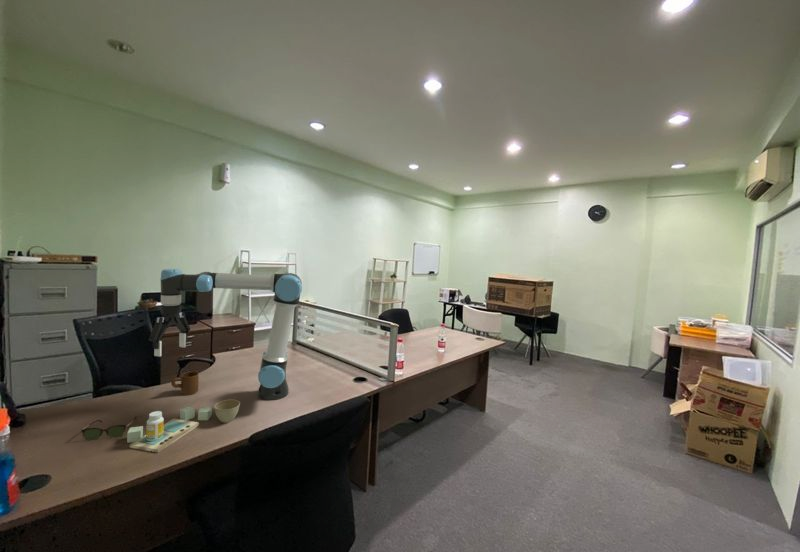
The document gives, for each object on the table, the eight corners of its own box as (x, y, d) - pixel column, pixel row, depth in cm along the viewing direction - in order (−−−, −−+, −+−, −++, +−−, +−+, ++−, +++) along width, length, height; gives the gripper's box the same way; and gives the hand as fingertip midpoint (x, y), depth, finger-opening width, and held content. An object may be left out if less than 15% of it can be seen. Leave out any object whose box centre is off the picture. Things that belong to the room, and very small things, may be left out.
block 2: (194, 417, 149) (194, 408, 149) (185, 421, 146) (185, 412, 145) (189, 414, 151) (189, 406, 151) (179, 418, 147) (180, 409, 147)
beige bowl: (220, 414, 153) (220, 398, 153) (242, 414, 154) (243, 399, 153) (209, 425, 143) (210, 409, 143) (234, 426, 144) (234, 410, 144)
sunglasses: (79, 442, 127) (80, 429, 127) (98, 425, 140) (98, 413, 140) (127, 437, 132) (127, 424, 132) (140, 421, 146) (140, 409, 146)
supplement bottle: (147, 443, 126) (147, 418, 125) (145, 436, 130) (145, 412, 129) (164, 438, 130) (165, 414, 129) (162, 432, 134) (162, 408, 133)
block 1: (142, 435, 133) (142, 425, 133) (140, 441, 130) (140, 431, 129) (130, 437, 131) (130, 427, 131) (127, 443, 128) (127, 432, 127)
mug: (174, 399, 164) (174, 380, 163) (168, 394, 168) (168, 376, 168) (200, 392, 173) (201, 374, 173) (194, 387, 178) (195, 370, 177)
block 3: (211, 415, 151) (211, 407, 151) (207, 420, 147) (207, 411, 147) (202, 415, 151) (202, 407, 151) (197, 420, 147) (198, 411, 147)
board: (198, 425, 143) (198, 422, 143) (157, 452, 123) (157, 449, 123) (173, 421, 145) (173, 418, 145) (129, 447, 125) (129, 443, 125)
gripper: (184, 299, 162) (184, 343, 163) (138, 308, 137) (138, 359, 139) (199, 300, 161) (198, 344, 162) (154, 309, 136) (154, 361, 138)
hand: (170, 351), depth 150 cm, fingers open, 13 cm apart
